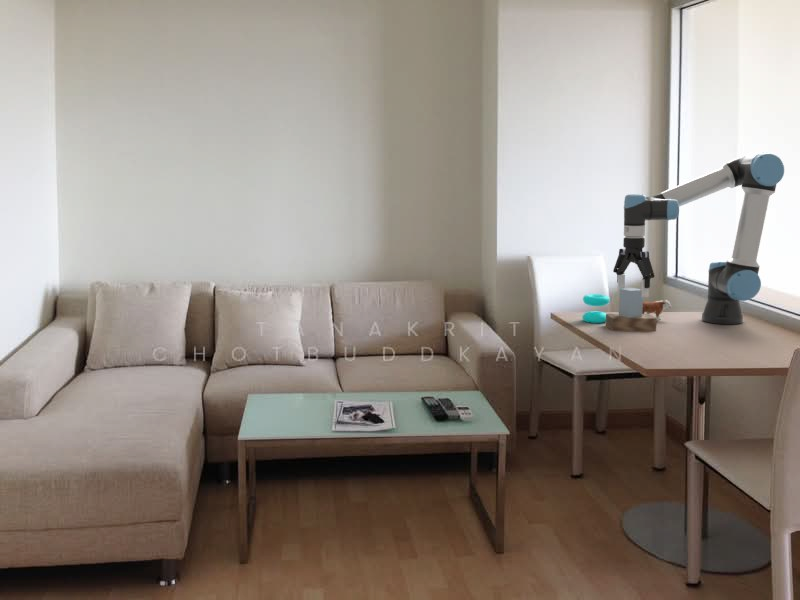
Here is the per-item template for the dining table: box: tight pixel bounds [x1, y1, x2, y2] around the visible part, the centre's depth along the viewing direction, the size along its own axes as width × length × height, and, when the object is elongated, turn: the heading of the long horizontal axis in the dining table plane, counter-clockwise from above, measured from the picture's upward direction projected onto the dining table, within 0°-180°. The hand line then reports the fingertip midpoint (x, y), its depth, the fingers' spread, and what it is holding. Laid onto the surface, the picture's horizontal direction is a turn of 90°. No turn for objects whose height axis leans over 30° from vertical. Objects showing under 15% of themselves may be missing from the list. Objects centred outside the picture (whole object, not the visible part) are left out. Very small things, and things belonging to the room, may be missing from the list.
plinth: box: [605, 313, 657, 332], centre depth 355 cm, size 16×10×5 cm, turn 92°
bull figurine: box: [642, 299, 672, 322], centre depth 372 cm, size 4×13×8 cm, turn 81°
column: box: [618, 287, 644, 318], centre depth 354 cm, size 6×6×10 cm
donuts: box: [581, 293, 611, 324], centre depth 369 cm, size 10×10×10 cm
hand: (632, 294), depth 354 cm, fingers open, 13 cm apart
